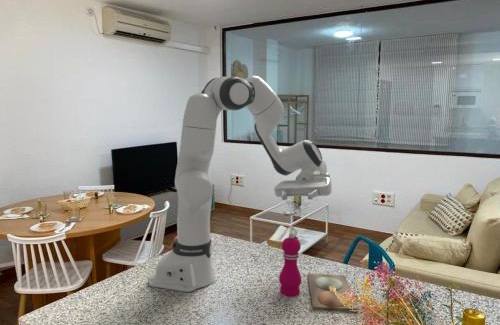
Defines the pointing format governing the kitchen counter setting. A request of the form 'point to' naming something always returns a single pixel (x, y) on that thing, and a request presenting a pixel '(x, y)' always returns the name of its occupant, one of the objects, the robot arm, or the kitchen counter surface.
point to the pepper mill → (290, 267)
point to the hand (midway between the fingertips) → (296, 197)
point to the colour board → (327, 291)
